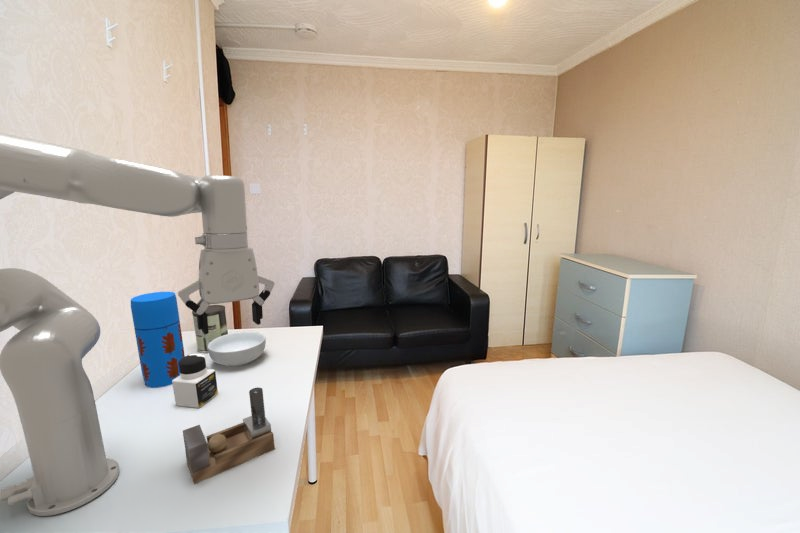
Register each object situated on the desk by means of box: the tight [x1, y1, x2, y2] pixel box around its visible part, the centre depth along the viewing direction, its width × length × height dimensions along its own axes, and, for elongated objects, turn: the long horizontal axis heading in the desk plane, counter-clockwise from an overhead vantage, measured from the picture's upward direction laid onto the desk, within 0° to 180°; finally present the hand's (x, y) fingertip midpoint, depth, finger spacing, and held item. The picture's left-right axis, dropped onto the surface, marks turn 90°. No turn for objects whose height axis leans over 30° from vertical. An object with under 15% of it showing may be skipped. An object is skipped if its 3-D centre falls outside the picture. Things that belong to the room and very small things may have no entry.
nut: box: [208, 434, 227, 453], centre depth 73 cm, size 3×3×3 cm
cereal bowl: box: [208, 331, 266, 367], centre depth 117 cm, size 17×17×7 cm
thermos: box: [130, 291, 185, 389], centre depth 105 cm, size 11×11×25 cm
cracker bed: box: [182, 422, 276, 485], centre depth 74 cm, size 15×8×7 cm, turn 128°
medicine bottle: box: [171, 353, 219, 409], centre depth 94 cm, size 7×7×12 cm
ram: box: [242, 387, 272, 440], centre depth 77 cm, size 4×6×10 cm
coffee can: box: [191, 304, 229, 354], centre depth 128 cm, size 10×10×14 cm
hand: (231, 327), depth 73 cm, fingers open, 9 cm apart
